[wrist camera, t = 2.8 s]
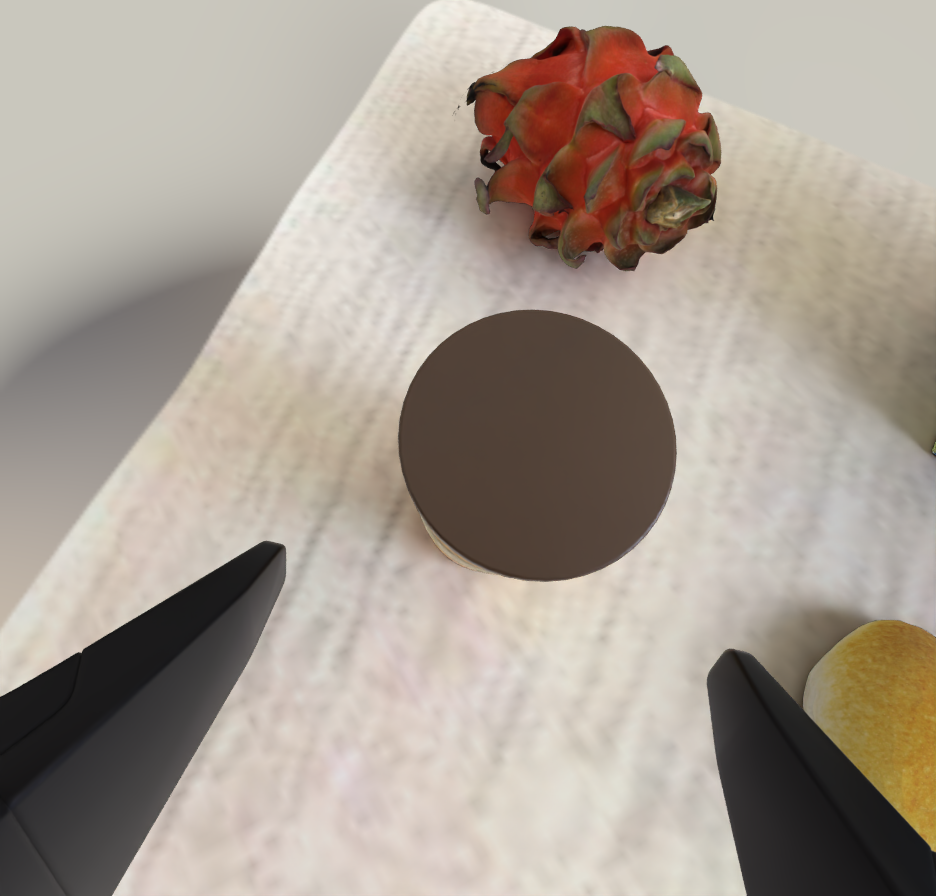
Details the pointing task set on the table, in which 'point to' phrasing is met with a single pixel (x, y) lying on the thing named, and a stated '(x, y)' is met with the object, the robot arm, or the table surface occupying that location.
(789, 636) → the table surface
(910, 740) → the bread roll
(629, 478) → the tube
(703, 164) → the dragon fruit
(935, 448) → the protein box
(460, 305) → the table surface
